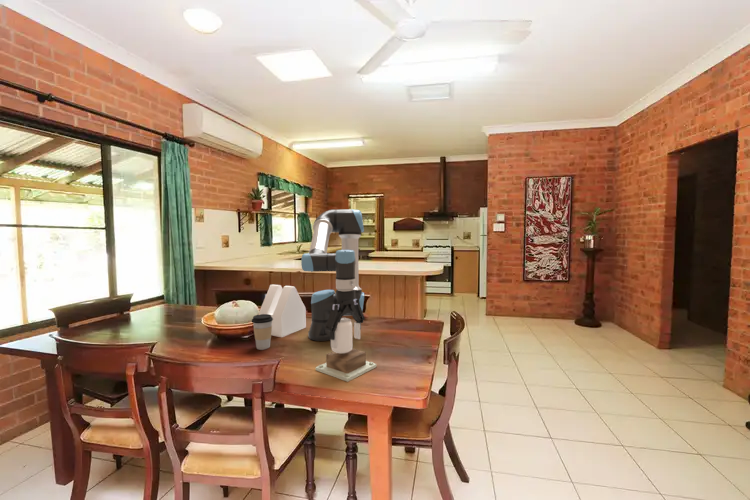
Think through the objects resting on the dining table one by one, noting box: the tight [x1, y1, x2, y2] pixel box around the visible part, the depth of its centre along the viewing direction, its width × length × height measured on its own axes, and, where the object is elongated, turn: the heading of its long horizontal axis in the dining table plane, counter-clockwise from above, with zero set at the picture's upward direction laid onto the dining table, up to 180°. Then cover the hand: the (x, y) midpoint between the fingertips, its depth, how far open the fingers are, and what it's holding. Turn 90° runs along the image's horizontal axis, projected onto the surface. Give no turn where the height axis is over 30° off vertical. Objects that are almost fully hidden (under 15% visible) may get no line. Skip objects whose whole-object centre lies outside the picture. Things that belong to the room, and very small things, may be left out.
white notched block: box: [258, 284, 307, 338], centre depth 187 cm, size 19×15×25 cm
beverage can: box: [331, 317, 353, 353], centre depth 135 cm, size 8×8×12 cm
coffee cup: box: [251, 314, 273, 351], centre depth 162 cm, size 9×9×15 cm
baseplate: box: [315, 360, 377, 383], centre depth 138 cm, size 17×17×2 cm
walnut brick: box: [325, 348, 367, 374], centre depth 138 cm, size 11×11×5 cm
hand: (346, 342), depth 137 cm, fingers open, 13 cm apart
